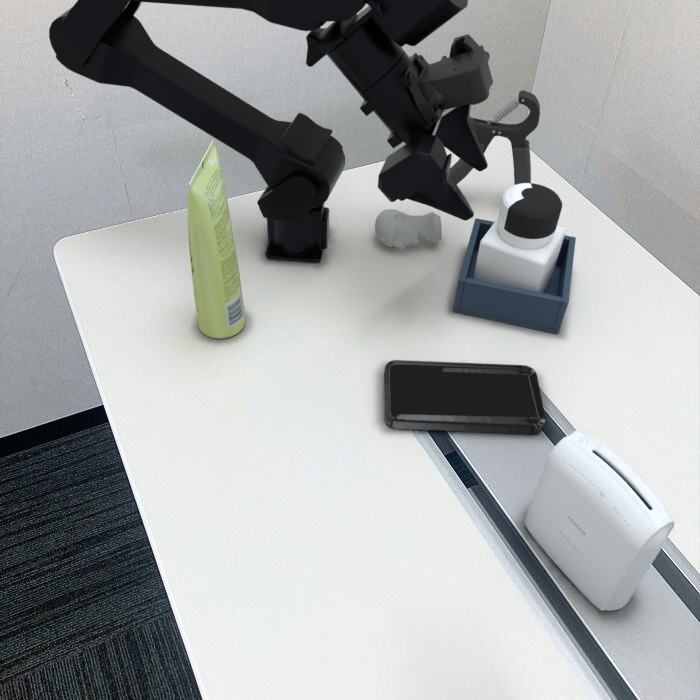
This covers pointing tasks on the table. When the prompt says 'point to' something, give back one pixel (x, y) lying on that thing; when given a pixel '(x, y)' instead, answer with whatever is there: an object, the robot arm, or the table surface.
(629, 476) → the photo printer
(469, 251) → the bin
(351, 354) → the table surface
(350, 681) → the table surface
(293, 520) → the table surface
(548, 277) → the medicine bottle
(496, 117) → the hand grip strengthener
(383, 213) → the pale two-lobed sculpture
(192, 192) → the tube
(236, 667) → the table surface
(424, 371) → the phone
